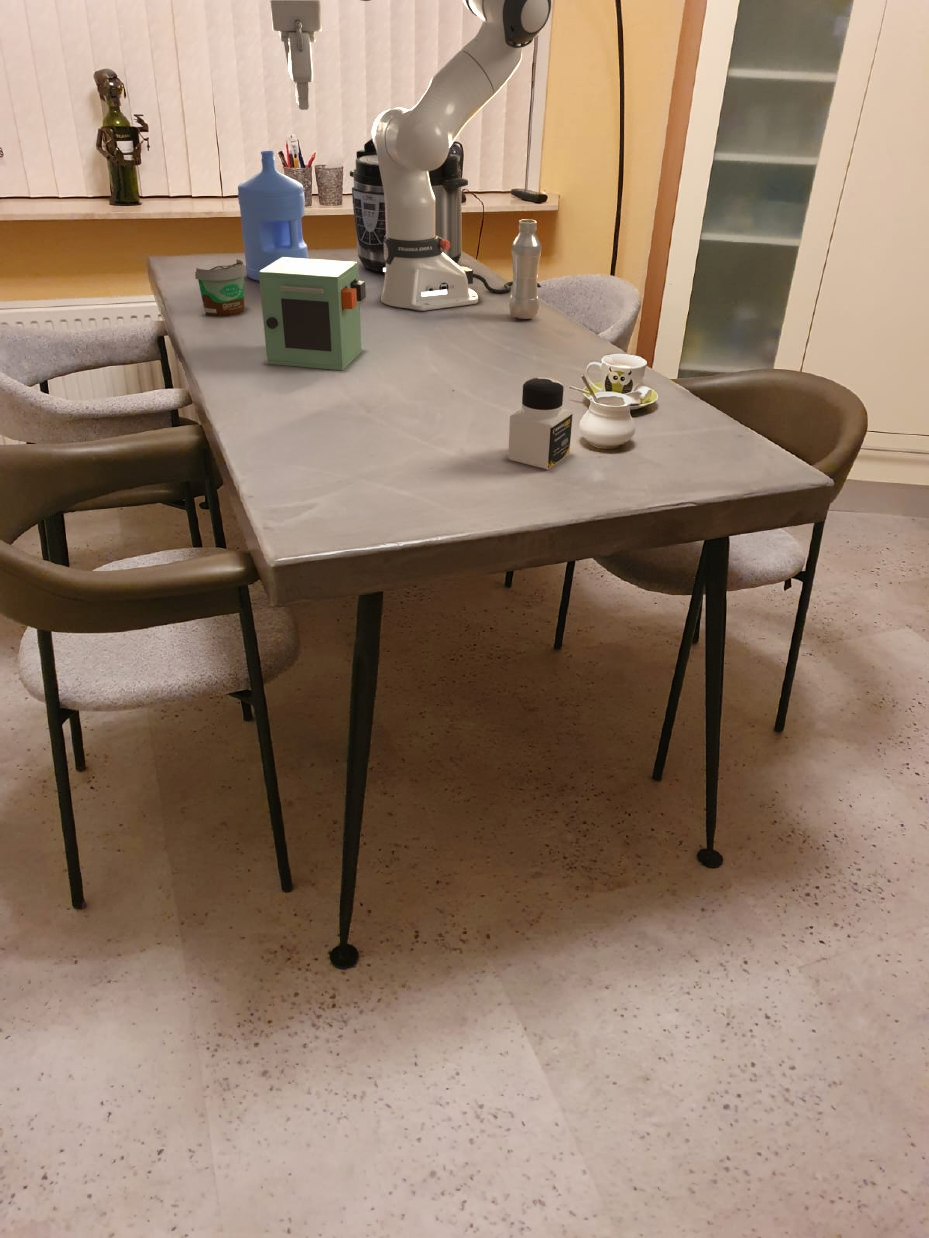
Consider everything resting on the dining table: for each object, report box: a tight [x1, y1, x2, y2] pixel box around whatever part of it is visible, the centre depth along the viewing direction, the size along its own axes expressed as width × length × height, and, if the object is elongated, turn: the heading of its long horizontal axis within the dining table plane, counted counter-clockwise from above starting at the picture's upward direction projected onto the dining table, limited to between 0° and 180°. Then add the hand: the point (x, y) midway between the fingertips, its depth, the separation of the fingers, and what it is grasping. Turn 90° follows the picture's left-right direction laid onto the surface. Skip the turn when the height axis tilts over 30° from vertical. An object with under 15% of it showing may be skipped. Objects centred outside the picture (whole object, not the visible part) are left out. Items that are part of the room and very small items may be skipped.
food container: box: [194, 258, 247, 318], centre depth 208 cm, size 12×6×10 cm, turn 143°
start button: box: [341, 288, 357, 309], centre depth 176 cm, size 3×3×3 cm
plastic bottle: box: [508, 219, 542, 320], centre depth 206 cm, size 6×7×20 cm
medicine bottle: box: [507, 376, 574, 471], centre depth 144 cm, size 7×7×12 cm
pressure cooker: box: [349, 138, 469, 273], centre depth 242 cm, size 30×28×32 cm
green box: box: [258, 257, 362, 371], centre depth 181 cm, size 15×13×17 cm
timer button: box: [350, 280, 367, 302], centre depth 180 cm, size 3×3×3 cm
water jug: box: [237, 150, 309, 282], centre depth 232 cm, size 16×16×28 cm
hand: (302, 107), depth 180 cm, fingers open, 8 cm apart
